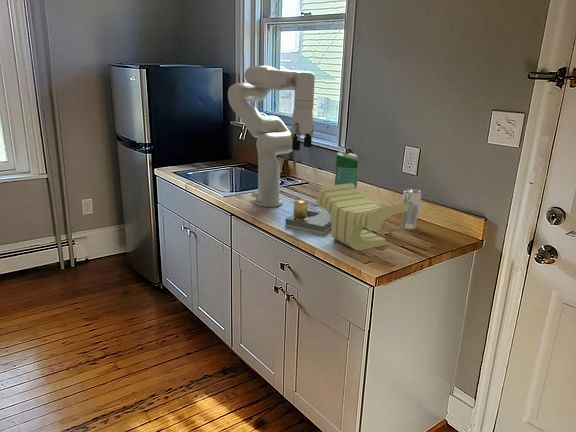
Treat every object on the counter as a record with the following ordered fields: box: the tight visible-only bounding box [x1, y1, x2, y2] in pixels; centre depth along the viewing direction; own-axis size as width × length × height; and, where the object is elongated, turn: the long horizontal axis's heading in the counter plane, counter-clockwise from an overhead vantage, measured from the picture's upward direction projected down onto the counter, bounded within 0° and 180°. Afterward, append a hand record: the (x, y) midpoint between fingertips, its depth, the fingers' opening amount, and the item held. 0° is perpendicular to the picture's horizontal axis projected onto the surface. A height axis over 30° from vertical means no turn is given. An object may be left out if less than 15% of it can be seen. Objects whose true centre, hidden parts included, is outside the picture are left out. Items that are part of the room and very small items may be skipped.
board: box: [284, 208, 332, 235], centre depth 188 cm, size 16×16×3 cm
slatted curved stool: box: [316, 183, 409, 251], centre depth 169 cm, size 30×16×18 cm, turn 31°
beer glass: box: [400, 188, 422, 231], centre depth 187 cm, size 7×7×15 cm
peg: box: [293, 199, 309, 221], centre depth 185 cm, size 5×5×9 cm
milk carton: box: [334, 150, 360, 189], centre depth 207 cm, size 9×9×25 cm
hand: (301, 148), depth 191 cm, fingers open, 9 cm apart
